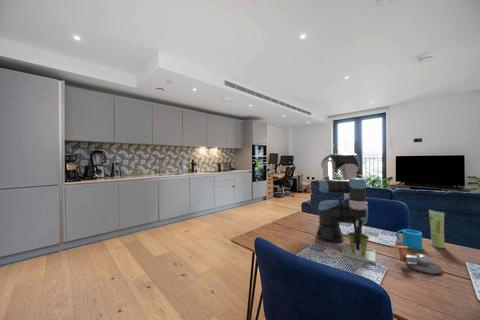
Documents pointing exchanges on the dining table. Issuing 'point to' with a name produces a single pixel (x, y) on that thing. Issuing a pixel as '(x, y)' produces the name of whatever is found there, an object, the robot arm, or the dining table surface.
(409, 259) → the crank
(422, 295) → the dining table surface
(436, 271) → the crank plate
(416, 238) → the mug
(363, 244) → the plant pot
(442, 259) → the dining table surface
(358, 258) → the tray
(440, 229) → the tube
